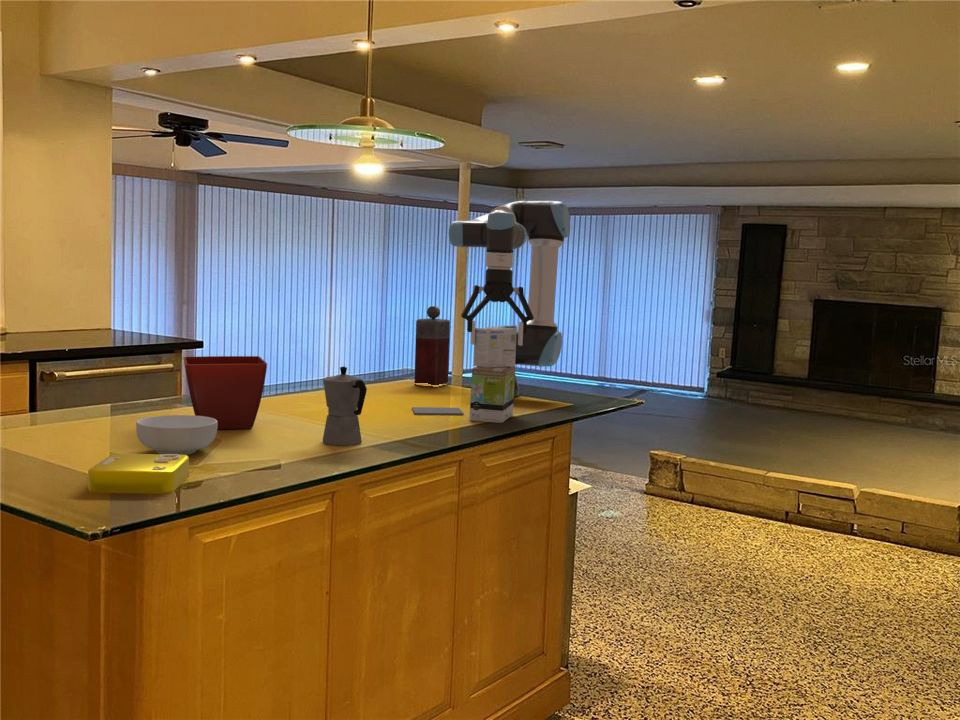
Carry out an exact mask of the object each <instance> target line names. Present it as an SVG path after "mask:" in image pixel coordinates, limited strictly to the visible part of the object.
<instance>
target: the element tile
mask: <svg viewBox="0 0 960 720" xmlns="http://www.w3.org/2000/svg"><path fill="white" fill-rule="evenodd" d="M189 477H190V458H189V455H178V454H158V453H157V454H155V453H152V454H151V453H114V454H111V455H109V456H107V457H105V458H104V459H103V460H101V461H100V462H98V463H97V464H95V465H94V466H92V467H90V468H89V469H88V470H87V479H88V480H87V489H88V491H87V492H89V493H92V494H93V493H94V494H153V495H154V494H157V495H159V494H160V495H161V494H162V495H163V494H169V493H172V492H173V493H174V492H175V491H176V489H178V488H179V487H180V486H181V485H182V484H183V483H184V482H185V481H186V480H187V479H188V478H189Z"/></svg>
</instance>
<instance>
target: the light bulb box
mask: <svg viewBox="0 0 960 720" xmlns="http://www.w3.org/2000/svg"><path fill="white" fill-rule="evenodd" d="M515 356H516V328H505V327H494V328H486V327H475V345H473V366H474V367H477V366H479V367H485V368H493V367H507V366H515V367H516V364H515Z"/></svg>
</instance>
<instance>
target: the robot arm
mask: <svg viewBox="0 0 960 720" xmlns="http://www.w3.org/2000/svg"><path fill="white" fill-rule="evenodd" d="M570 232H571V218H570V211H569V209H568V206H567V205H566V203H565V202H563V201H559V200H517V201H512V202H509V203H505V204H502V205H499V206H497V207H495V208H493V209H492V210H491V211H490V212H489V213H487V214H483V215H481V216H478V217H476V218H473V219H470V220H461V219H460V220H455V221H452V222H451V223H450V225H449V228H448V240H449V244H450V245H451V246H452V247H457V248H459V247H460V248H486V254H485V256H486V257H485V267H487V268H486V270H485V277H484V279H485V283H484V285H483V286H480V285H477V284H475V285H474V286H473V289H472V293H471V296H470V298H469V299H468V301H467V303H466V305H465V306H464V309H463V310H462V313H461V314H460V317H461V318H462V319H465V320H466V321H467V323H466V325H467V326H466V327H467V329H466V331H467V332H468V333H470V341H469V343H470V345H473V346H474V345H475V328H476V320H474V319H475V317H477V315H479V313H480V312H481V311H483V309H484V308H485V307H486V305H487V304H488V303H490V301H491V302H492V303H498V302H499V303H506V302H507V305H509V307H511V309H512V310H513V311H514V312H515V314H516V315H517V316H518V318H519V319H520V321H518V326H517V324H508V325H507V324H506V325H496V326H486V327H485V328H494V327H505V328H516V356H515V365H519V366H531V367H540V368H542V367H548V368H549V367H553V366H555V365H556V363H557V362H558V360H559V358H560V354H561V351H562V346H563V334H562V332H560V331H559V330H558V325H557V324H556V323H555V321H554V315H555V301H556V291H557V289H556V287H557V274H558V273H557V272H558V262H559V261H558V260H559V259H558V258H559V249H560V247H561V246H562V245H564V244H565V243H564V241H565V240H564V239H567V238H568V237H569V236H570V234H571V233H570ZM527 241H528V243H529V244H530V245H531V247H532V248H531V261H530V264H531V265H530V275H529V276H530V278H529V289H528V290H529V291H528V302H527V299H526V296H525V293H524V287H523V286H518V287H514V286H513V270H512V269H513V268H514V250H516V249H519V248H521V247H523V246H524V245H525V244H526V242H527ZM511 268H512V269H511ZM482 292H484V294H485V296H484V297H483V298H482V300H481V301H480V302H479V304H478V305H477V306H476V307H475V308H474V309H473V310H472V307H473V306H474V304H475V301H476V299H477V298H478V296H479V294H482ZM513 293H515V295H517V297H518V299H519V301H520V303H521V306H522V308H523V311H524V312H525V314H524V313H523V311H522V310H521V309H520V308H519V307H518V305H517V304H516V303H515V301H514V300H513V298H512V297H511V296H512V295H513ZM470 310H472V311H471V312H470ZM525 315H526V316H525ZM519 396H520V386H519V383H518V380H517V375H516V374H515V385H514V398H515V397H519Z"/></svg>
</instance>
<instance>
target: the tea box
mask: <svg viewBox="0 0 960 720" xmlns="http://www.w3.org/2000/svg"><path fill="white" fill-rule="evenodd" d="M515 375H516V365H515V366H507V367H493V368H485V367H479V366H474V367H472V368H471V386H470V399H469V400H470V401H469V403H470V404H469V405H470V406H469V421H473V422H482V423H483V422H485V423H496V424H497V423H499V424H503V423H504V422H506V420H508V419H509V418H510V417H512V416H513V413H514V401H515V400H514V399H515V397H514V385H515Z"/></svg>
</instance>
